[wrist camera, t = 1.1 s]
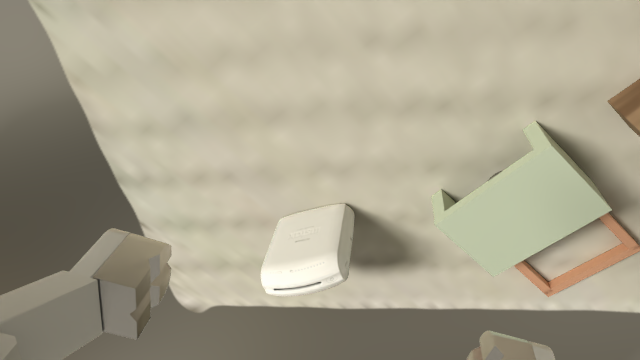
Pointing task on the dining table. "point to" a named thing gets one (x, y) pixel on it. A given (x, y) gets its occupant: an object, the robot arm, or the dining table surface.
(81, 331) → the robot arm
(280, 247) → the photo printer
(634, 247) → the frame
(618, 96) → the wooden handled metal tool
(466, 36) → the dining table surface
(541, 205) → the stand
